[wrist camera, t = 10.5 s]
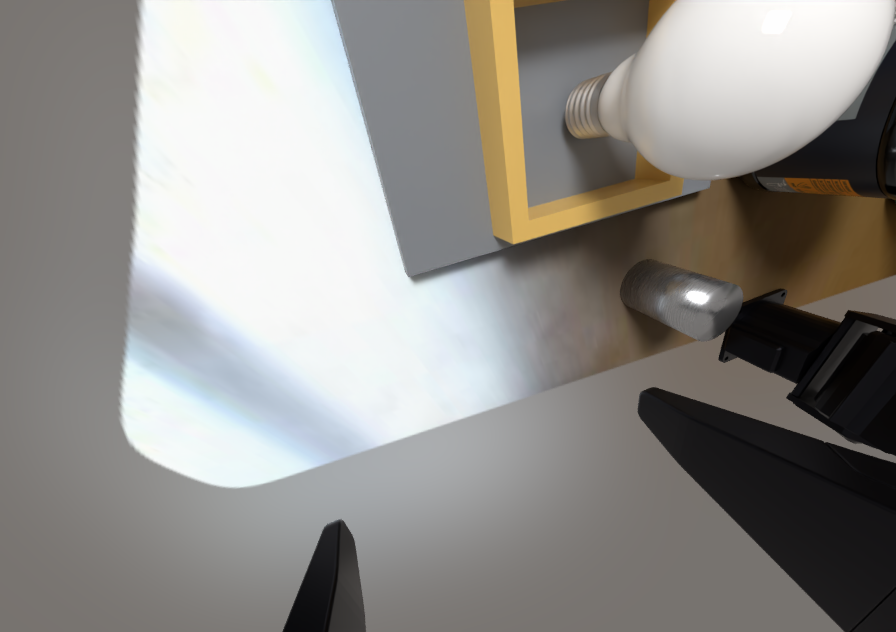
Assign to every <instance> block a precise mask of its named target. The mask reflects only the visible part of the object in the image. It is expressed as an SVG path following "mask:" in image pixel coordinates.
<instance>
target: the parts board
mask: <svg viewBox="0 0 896 632" xmlns="http://www.w3.org/2000/svg"><path fill="white" fill-rule="evenodd" d="M675 1H676V0H331V2H332V5H333V9H334V13H335V16H336V20H337V24H338V27H339V31H340V35H341V38H342V42H343V46H344V49H345V53H346V57H347V60H348V64H349V68H350V71H351V75H352V79H353V82H354V86H355V89H356V93H357V97H358V100H359V104H360V108H361V111H362V115H363V119H364V122H365V126H366V130H367V133H368V137H369V141H370V144H371V148H372V152H373V155H374V159H375V163H376V166H377V170H378V174H379V177H380V181H381V185H382V188H383V192H384V196H385V199H386V203H387V207H388V210H389V214H390V218H391V221H392V225H393V229H394V232H395V236H396V240H397V243H398V247H399V251H400V254H401V258H402V262H403V265H404V269H405V272H406V274H407V275H408V277H410V276H414V275H417V274H421V273H424V272H427V271H431V270H434V269H437V268H441V267H444V266H448V265H451V264H454V263H458V262H461V261H464V260H468V259H471V258H475V257H478V256H481V255H485V254H488V253H491V252H495V251H498V250H501V249H505V248H508V247H512V246H515V245H518V244H522V243H525V242H528V241H532V240H535V239H539V238H542V237H545V236H549V235H552V234H555V233H559V232H562V231H566V230H569V229H572V228H576V227H579V226H582V225H586V224H589V223H593V222H596V221H599V220H603V219H606V218H609V217H613V216H616V215H620V214H623V213H626V212H630V211H633V210H636V209H640V208H643V207H647V206H650V205H653V204H657V203H660V202H663V201H667V200H670V199H673V198H677V197H680V196H684V195H687V194H690V193H694V192H697V191H700V190H704V189H707V188H710V183H711V180H707V181H701V180H689V179H683V178H679V177H675V176H672V175H669V174H667V173H665V172H663V171H661V170H659V169H657V168H656V167H654V166H653V165H651V164H650V163H649V162H648V161H647V160H646V159H644V158H643V157H642V155H641V154H640V153H639V152H638V151H637V150H636V148H635V147H634V146H633V144H632V143H627V142H622V141H619V140H616V139H614V138H613V137H611V136H610V137H598V138H591V139H578V138H576V137H574V136H573V135H572V134H571V133H570V131H569V130H568V128H567V125H566V120H565V108H566V103H567V100H568V98H569V95H570V94H571V92H572V90H573V89H574V88H575V87H576V86H577V85H578V84H579V83H580V82H582V81H584V80H587V79H591V78H593V77H597V76H599V75H603V74H605V73H608V72H611V71H614V70H615V69H616V67H617V66H618V65H620V64H621V63H622V62H623V61H624V60H626V59H627V58H628V57H630V56H632V55H633V54H635V53H636V52H638V51H639V49H640V48H641V46H642V44H643V43H644V41H645V40H646V38H647V36H648V35H649V33H650V32H651V30H652V29H653V28H654V26H655V25H656V23H657V22H658V21H659V19H660V18H661V17H662V16H663V14H664V13H665V12H666V11H667V10H668V8H669V7H670V6H671V5H672V4H673V3H674V2H675Z"/></svg>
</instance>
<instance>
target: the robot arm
mask: <svg viewBox="0 0 896 632" xmlns="http://www.w3.org/2000/svg"><path fill="white" fill-rule="evenodd" d="M786 295H787V290H785V289H778V290H775V291H772V292H770V293H767V294H765V295H762V296H760V297H757V298H754V299H752V300H749V301H747V302H744V303H742V306H741V309H740V311H739V313H738V315H737V317H736V318H735V320H734V321H733V323H732V324H731V325H730V326H729V327H728V329H726V332H725V336H724V339H723V343H722V347H721V351H720V355H719V361H721V362H724V363H725V362H728V361H730V360H732V359H734V358H737V357H738V358H740V359H743V360H745V361H747V362H749V363H751V364H753V365H755V366H757V367H759V368H761V369H763V370H765V371H768V372H770V373H775V374H777V375H779V376H781V377H783V378H785V379H787V380H790V381H792V382H794V383H796V384H797V383H798V384H797V385H796V387H795V388H794V390H793V391H792V392H791V393H789V394H788V396H787V397H786V398H787V399H788V400H790V401H792V402H793V404H795V405H796V406H797V407H799V408H801V409H802V410H804V411H805V412H807V413H808V414H810V415H811V416H813V417H814V418H816V419H818V420H819V421H821V422H822V423H824V424H825V425H827V426H828V427H830V428H832V429H833V430H835V431H836V432H837V433H839V434H840V435H841V436H842V437H844V438H845V439H846V440H848V441H850V442H852V443H855V444H857V443H858V444H862V443H863V444H865V445H868V446H871V447H873V448H876V449H879V450H881V451H883V452H885V453H888V454H893V455H895V456H896V320H895V319H892V318H888V317H884V316H881V315H877V314H872V313H865V312H858V311H851V310H848V311H847V313H846V314H845V318H844V320H843V321H842V322H841V323H840V322H837V321H834V320H831V319H828V318H825V317H821V316H818V315H815V314H812V313H809V312H806V311H802V310H799V309H796V308H793V307H790V306H787V305H784V304H783V303H784V300H785V298H786ZM878 328H882V329H883V331H882V332H880V331H876V330H877V329H878ZM638 414H639V416H640V418H641V420H642V421H643V422H644V423H645V424H646V426H647V427H648V428H649V429H650V430H651V432H652V433H653V434H654V435H655V436H656V438H657V439H658V440H659V441H660V442H661V444H662V445H663V446H664V447H665V448H666V450H667V451H668V452H669V453H670V454H671V456H672V457H673V458H674V459H675V460H676V461H677V463H678V464H679V465H681V467H682V468H683V469H684V470H685V471H686V472H687V473H688V474H689V475H690V476H691V477H692V478H693V479H694V480H695V481H696V482H697V483H698V484H699V485H700V486H701V487H702V488H703V489H704V490H705V491H706V492H707V493H708V494H709V495H710V496H711V497H712V498H713V499H714V500H715V501H716V502H717V503H718V504H719V505H720V506H721V507H722V508H723V509H724V510H725V511H726V512H727V513H728V514H729V515H730V516H731V518H732V519H733V520H735V522H736V523H737V524H738V525H739V526H740V527H741V528H742V529H743V530H744V531H746V533H748V535H749V536H750V537H751V538H752V539H753V540H754V541H755V542H756V543H757V544H758V545H759V546H760V547H761V548H762V549H763V550H764V551H765V552H766V553H767V554H768V555H769V556H770V557H771V558H772V559H773V560H774V561H775V562H776V563H777V564H778V565H779V566H780V567H781V568H782V569H783V570H784V571H785V572H786V573H787V574H788V575H789V576H790V577H791V578H792V579H793V580H794V581H795V582H796V583H797V584H798V585H799V586H800V587H801V588H802V589H803V590H804V591H805V592H806V593H807V594H808V595H809V596H810V597H811V598H812V599H813V600H814V601H815V603H816V604H817V605H818V606H819V607H820V608H821V609H823V611H824V612H825V613H826V614H827V615H828V616H829V617H830V618H831V619H832V620H833V621H834V622H835V623H836V624H837V625H838V626H839V627H840V628H841V629H842V630H843V631H844V632H896V463H893V462H890V461H886V460H882V459H879V458H876V457H873V456H870V455H866V454H863V453H860V452H857V451H853V450H850V449H847V448H844V447H841V446H837V445H834V444H831V443H828V442H826V443H824V442H823V441H821V440H818V439H815V438H812V437H809V436H806V435H803V434H800V433H797V432H793V431H790V430H787V429H784V428H781V427H778V426H775V425H772V424H768V423H765V422H762V421H759V420H756V419H753V418H749V417H747V416H743V415H740V414H737V413H734V412H731V411H727V410H725V409H721V408H718V407H715V406H712V405H709V404H706V403H703V402H700V401H697V400H693V399H690V398H687V397H684V396H681V395H678V394H675V393H671V392H668V391H665V390H662V389H659V388H655V387H652V388H649V389H646V390H644V391H642V392H641V393H640V396H639V403H638ZM283 632H366V626H365V613H364V604H363V597H362V590H361V583H360V576H359V568H358V561H357V554H356V547H355V542H354V538H353V536H352V534H351V532H350V531H349V529H348V527H347V526H346V524H345V522H344V521H343V520H342V519H339V520H336V521H334V522H331V523H329V524H327V525H326V526H325V527H324V529H323V531H322V534H321V536H320V539H319V541H318V544H317V546H316V549H315V551H314V554H313V556H312V559H311V561H310V564H309V566H308V569H307V571H306V574H305V576H304V579H303V581H302V584H301V586H300V589H299V591H298V594H297V597H296V599H295V601H294V604H293V606H292V609H291V611H290V614H289V616H288V619H287V621H286V624H285V626H284V629H283Z"/></svg>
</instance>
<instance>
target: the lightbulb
mask: <svg viewBox="0 0 896 632" xmlns="http://www.w3.org/2000/svg"><path fill="white" fill-rule="evenodd" d="M895 10H896V0H676V1H675V2H674V3H673V4H672V5H671V6H670V7H669V8H668V10H667V11H666V12H665V13H664V14H663V16H662V17H661V18H660V19H659V21H658V22H657V23H656V25H655V26H654V28H653V29H652V30H651V32H650V33H649V35H648V36H647V38H646V40H645V41H644V43H643V44H642V46H641V48H640V49H639V51H638V52H636V53H635V54H633V55H632V56H630V57H628V58H627V59H626V60H624V61H623V62H622V63H621V64H620V65H618V66H617V67H616V69H615V70H614V71H611V72H608V73H605V74H603V75H599V76H597V77H593V78H591V79H587V80H584V81H582V82H580V83H579V84H578V85H577V86H576V87H575V88H574V89H573V90H572V92H571V94H570V95H569V98H568V100H567V103H566V108H565V120H566V125H567V128H568V130H569V131H570V133H571V134H572V135H573V136H574V137H576V138H578V139H591V138H598V137H610V136H611V137H613V138H614V139H616V140H619V141H622V142H627V143H632V144H633V146H634V147H635V148H636V150H637V151H638V152H639V153H640V154H641V155H642V157H643V158H644V159H646V160H647V161H648V162H649V163H650V164H651V165H653V166H654V167H656V168H657V169H659V170H661V171H663V172H665V173H667V174H669V175H672V176H675V177H679V178H683V179H689V180H701V181H707V180H721V179H727V178H733V177H737V176H741V175H745V174H748V173H752V172H755V171H758V170H760V169H763V168H765V167H768V166H770V165H772V164H774V163H777V162H779V161H781V160H783V159H784V158H786V157H788V156H790V155H792V154H793V153H795V152H797V151H798V150H800V149H801V148H803V147H804V146H806V145H807V144H809V143H810V142H812V141H813V140H814V139H816V138H817V137H818V136H819V135H821V134H822V133H823V132H824V131H826V130H827V129H828V128H829V127H830V126H831V125H832V124H833V123H835V122H836V121H837V120H838V119H839V118H840V117H841V116H842V115H843V114H844V113H845V112H846V110H847V109H848V108H849V107H850V106H851V105H852V104H853V103H854V101H855V100H856V99H857V98H858V96H859V95H860V94H861V92H862V91H863V90H864V88H865V87H866V86H867V84H868V83H869V81H870V80H871V78H872V76H873V75H874V73H875V71H876V70H877V68H878V66H879V64H880V62H881V60H882V58H883V56H884V53H885V51H886V49H887V46H888V43H889V40H890V37H891V33H892V29H893V25H894V19H895Z"/></svg>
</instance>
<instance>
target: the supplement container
mask: <svg viewBox="0 0 896 632" xmlns="http://www.w3.org/2000/svg"><path fill="white" fill-rule="evenodd" d="M739 177H740V178H741V179H742V181H743V182H744V183H745V184H747V185H748V186H750V187H752V188H754V189H756V190H760V191H764V192H796V193H811V194H827V195H843V196H858V197H874V198H890V199H893V200H896V10H895V19H894V25H893V29H892V33H891V37H890V40H889V43H888V46H887V49H886V51H885V53H884V56H883V58H882V60H881V62H880V64H879V66H878V68H877V70H876V71H875V73H874V75H873V76H872V78H871V80H870V81H869V83H868V84H867V86H866V87H865V88H864V90H863V91H862V92H861V94H860V95H859V96H858V98H857V99H856V100H855V101H854V103H853V104H852V105H851V106H850V107H849V108H848V109H847V110H846V112H845V113H844V114H843V115H842V116H841V117H840V118H839V119H838V120H837V121H836V122H835V123H833V124H832V125H831V126H830V127H829V128H828V129H827V130H826V131H824V132H823V133H822V134H821V135H819V136H818V137H817V138H816V139H814V140H813V141H812V142H810V143H809V144H807V145H806V146H804V147H803V148H801V149H800V150H798V151H797V152H795V153H793V154H792V155H790V156H788V157H786V158H784V159H783V160H781V161H779V162H777V163H774V164H772V165H770V166H768V167H765V168H763V169H760V170H758V171H755V172H752V173H748V174H745V175H741V176H739Z"/></svg>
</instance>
